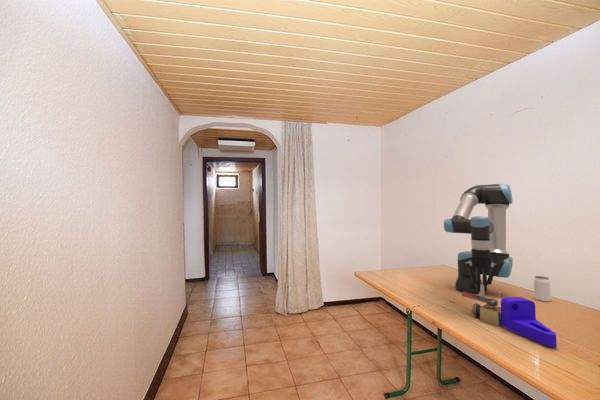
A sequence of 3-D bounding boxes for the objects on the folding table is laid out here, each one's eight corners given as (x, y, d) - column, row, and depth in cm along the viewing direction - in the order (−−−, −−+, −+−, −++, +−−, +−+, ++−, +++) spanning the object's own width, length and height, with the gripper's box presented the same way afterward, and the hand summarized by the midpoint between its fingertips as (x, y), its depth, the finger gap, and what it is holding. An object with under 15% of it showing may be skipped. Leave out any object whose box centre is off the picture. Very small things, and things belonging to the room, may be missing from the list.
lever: (499, 304, 119) (499, 300, 119) (494, 306, 117) (494, 302, 117) (465, 294, 133) (465, 291, 133) (460, 296, 131) (460, 292, 131)
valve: (471, 318, 124) (471, 302, 124) (478, 314, 127) (478, 298, 128) (508, 329, 112) (507, 311, 112) (515, 325, 116) (514, 308, 116)
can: (553, 302, 142) (553, 279, 142) (539, 301, 143) (538, 278, 143) (545, 298, 148) (544, 276, 148) (531, 297, 149) (531, 275, 150)
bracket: (501, 325, 115) (500, 297, 115) (526, 324, 115) (525, 296, 115) (539, 347, 97) (538, 314, 97) (569, 346, 97) (568, 313, 97)
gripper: (494, 248, 130) (496, 297, 129) (463, 246, 135) (464, 294, 134) (499, 250, 123) (500, 302, 122) (466, 249, 128) (467, 299, 127)
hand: (482, 298), depth 128 cm, fingers closed
